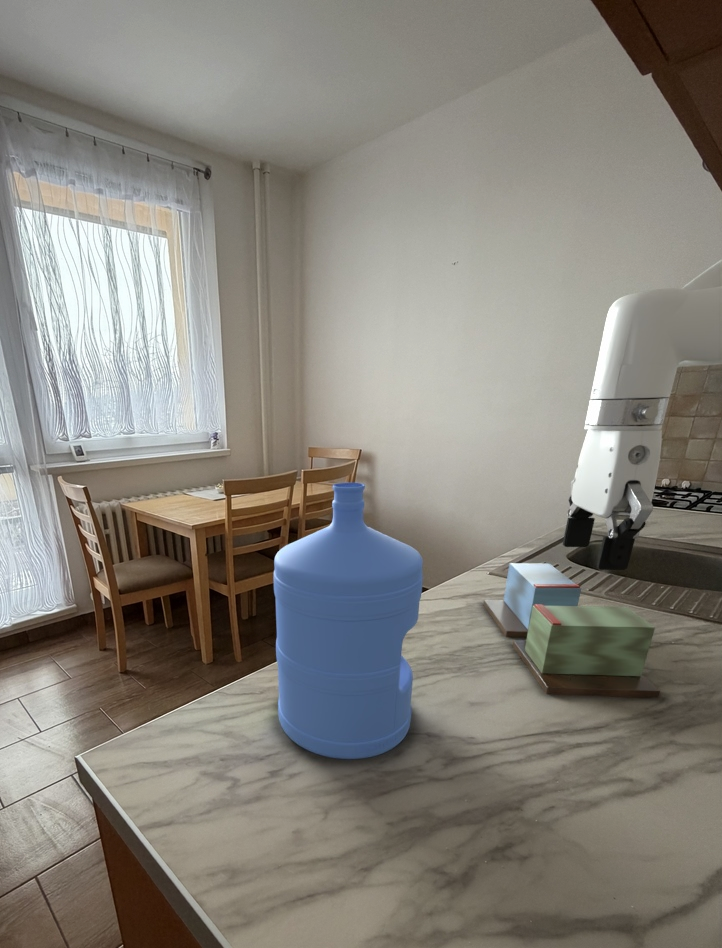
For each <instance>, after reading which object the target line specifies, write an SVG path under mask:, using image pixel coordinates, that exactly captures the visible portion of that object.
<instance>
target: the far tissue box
mask: <svg viewBox="0 0 722 948" xmlns="http://www.w3.org/2000/svg"><path fill="white" fill-rule="evenodd" d="M505 583H506V584H505V590H504V596H503V600H504V601H505V603H506V604H507V605H508V606H509V608H510V609H511V610H512V611H513V612H514V614H515V615H516V616H517V617H518V618H519V620H520V621H521V622H522V623H523V625H524V626H525V627H526V628H527V629H529V623H530V618H531V612H532V607H533V605H534V606H535V604H543V605H544V606H579V603H580V602H579V601H580V596H581V593H582V587H581V586H580V585H579V584H577V583H575V582H574V581H573V580H571V579H570V578H569V577H567V576H566V575H565V574H563V573H562V572H561V571H560V570H558V569H557V568H556V567H554V566H553V565H552V564H551V563H547V562H546V563H545V562H544V563H543V562H542V563H535V562H534V563H532V562H530V563H529V562H528V563H526V562H525V563H524V562H521V563H517V562H514V563H512V562H510V563H508V571H507V577H506V582H505Z"/></svg>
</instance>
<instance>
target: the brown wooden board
mask: <svg viewBox="0 0 722 948" xmlns="http://www.w3.org/2000/svg"><path fill="white" fill-rule="evenodd" d="M526 640H527V639H523V640H522V639H513V640H512V648H513V649H514V650H515V652H516V654H517V655H518V656H519V658H520V659H521V660H522V662H523V663H524V665H525V666H526V668H527V669H528V670H529V672H530V673H531V674H532V676H533V677H534V679H535V680H536V682H537V683H538V684H539V686H540V687H541V689H542V690H543V692H544V693H545V694H546V695H564V696H565V695H566V696H567V695H568V696H569V695H570V696H595V697H622V698H647V699H648V698H649V699H651V698H654V699H659V697H660V694H661V690H660V689H659V688H658V687H657V686H656V685H654V684H653V682H651V681H650V680H649V679H648V678H647V677H646V676H645V675H644V674H643V673H642V674H641V676H612V675H580V674H547V673H541V671H540V670H539V669H538V667H537V666H536V665H535V663H534V662H533V661H532V659H531V658H530V657H529V655H528V654H527V652H526V651H525V645H526Z"/></svg>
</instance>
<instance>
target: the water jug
mask: <svg viewBox="0 0 722 948" xmlns="http://www.w3.org/2000/svg"><path fill="white" fill-rule="evenodd" d="M365 489H366V484H364V483H362V482H338V483H333V485H332V491H333V500H332V504H331V506H332V521H331V523H330V524H329V525H328V526H326V527H324V528H322V529H320V530H317V531H315V532H313V533H310V534H308V535H306V536H304V537H301V538H299V539H297V540H295V541H293V542H291V543H288V544H286V545H284V546H283V547H282V548H280V549H279V551H277V553H276V554H275V556H274V560H273V564H274V570H273V593H274V597H275V621H276V622H275V623H276V640H275V655H276V656H275V658H276V662H277V675H278V701H277V709H278V711H277V712H278V720H279V724H280V726H281V728H282V730H283V731H284V733H285V734H286V736H287V737H288V738H289V739H290V740H291V741H292V742H293V743H295V744H297V745H298V746H299V747H301V748H303V749H304V750H305V751H308V752H310V753H313V754H317V755H319V756H323V757H326V758H333V759H339V760H340V759H341V760H359V759H367V758H372V757H377V756H379V755H382V754H384V753H387V752H389V751H390V750H392V749H394V748H396V747H397V746H398V745H399V744H400V743H401V742H402V741H404V739H405V737H406V735H407V734H408V732H409V731H410V730H409V729H410V726H411V719H412V695H413V694H412V693H413V692H412V691H413V681H414V675H413V670H412V667H411V665H410V663H409V662H408V660H407V659H406V658H405V657H404V656H403V655H402V653H403V652H402V651H403V643H404V639H405V638H406V636H407V634H408V632H409V631H410V630H412V629H413V628H414V627H415V626H416V625H417V623H418V620H419V611H420V601H421V599H422V593H423V582H424V572H423V566H424V561H423V557H422V555H421V554H420V552H419V551H418V550H417V549H415V548H414V547H412V546H411V545H409V544H407V543H404V542H402V541H400V540H398V539H396V538H394V537H391V536H390V535H387V534H385V533H383V532H381V531H378V530H377V529H374V528H372V527H370V526H368V525H366V523H365V521H364V508H365V500H364V490H365Z"/></svg>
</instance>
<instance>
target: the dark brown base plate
mask: <svg viewBox="0 0 722 948" xmlns="http://www.w3.org/2000/svg"><path fill="white" fill-rule="evenodd" d="M482 605H483V607H484V608H485V609H486V611H487V613H488V614H489V615H490V617H491V618H492V619H493V621H494V622H495V624H496V625H497V627H498V629H500V631H501V632H502V634H503V635H504V636H505V637H506V638H527V634H528V629H527V628H526V627H525V626H524V625H523V623H522V622H521V621H520V620H519V618H518V617H517V616H516V615H515V614H514V612H513V611H512V610H511V609H510V608H509V606H508V605H507V604H506V603H505V601H504V599H483V603H482Z"/></svg>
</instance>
